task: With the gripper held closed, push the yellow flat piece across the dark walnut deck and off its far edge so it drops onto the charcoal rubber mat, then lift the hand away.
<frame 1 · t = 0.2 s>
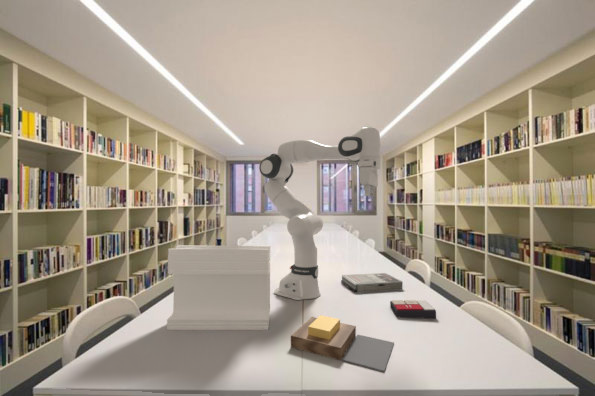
hand: (369, 196, 123), 48 cm above the table, tool pointing down, fingers open, 8 cm apart
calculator: (412, 314, 115), on the table
block: (220, 325, 102), on the table
hard drive: (370, 286, 152), on the table
yellow flat piece: (324, 330, 91), point 3 cm above the table, touching deck
deck: (324, 341, 91), on the table
mat: (369, 351, 85), on the table
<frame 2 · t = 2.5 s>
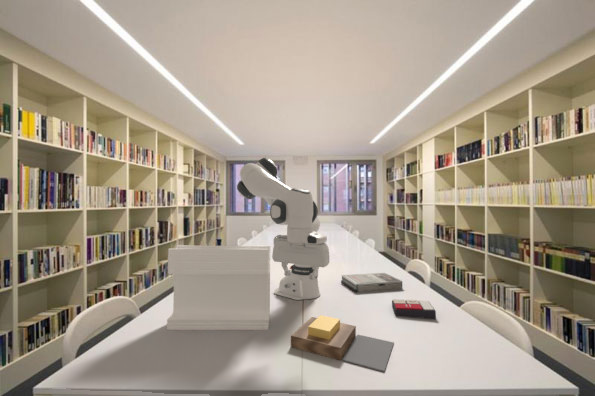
hand: (299, 277, 95), 19 cm above the table, tool pointing down, fingers open, 8 cm apart
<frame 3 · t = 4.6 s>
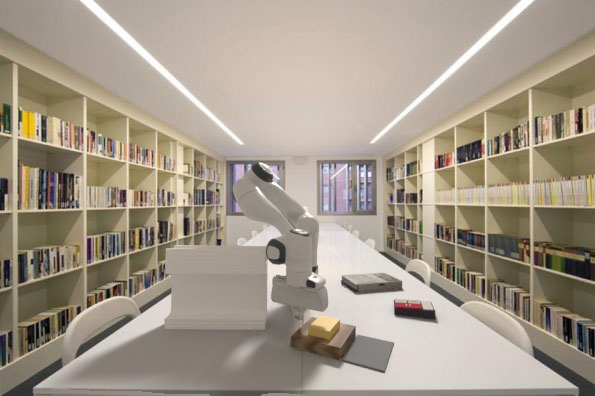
hand: (298, 319, 95), 5 cm above the table, tool pointing down, fingers closed
block: (217, 324, 102), on the table
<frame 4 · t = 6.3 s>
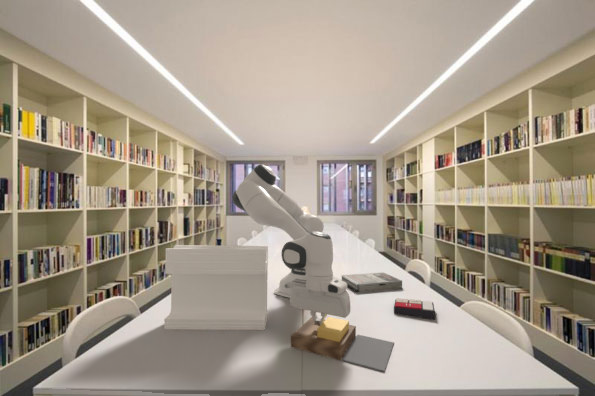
hand: (318, 325, 91), 5 cm above the table, tool pointing down, fingers closed
yellow flat piece: (333, 332, 89), point 4 cm above the table, touching deck, gripper
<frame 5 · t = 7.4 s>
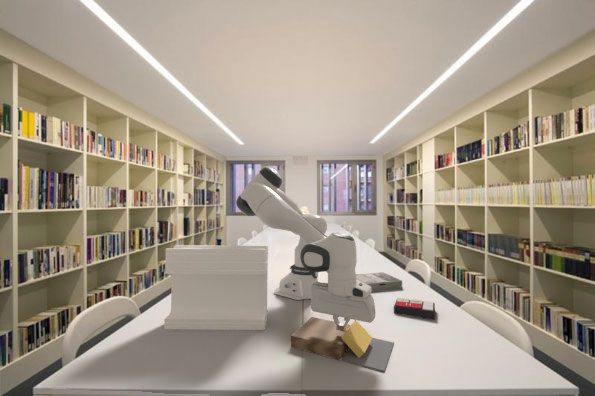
hand: (341, 330, 88), 5 cm above the table, tool pointing down, fingers closed
yellow flat piece: (354, 340, 86), point 3 cm above the table, tilted 40°, touching gripper
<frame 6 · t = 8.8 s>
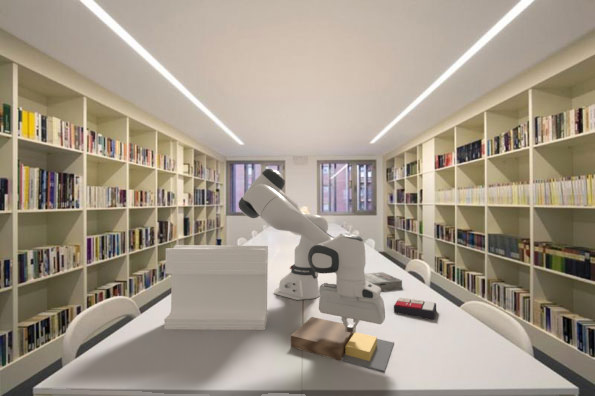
hand: (350, 331, 87), 5 cm above the table, tool pointing down, fingers closed
yellow flat piece: (361, 349, 85), resting on mat
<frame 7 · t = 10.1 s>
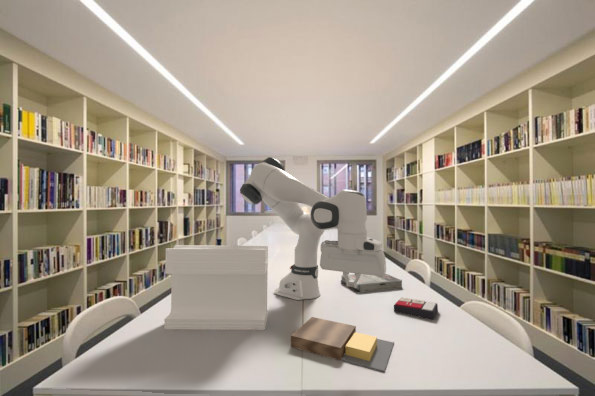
hand: (351, 286, 87), 19 cm above the table, tool pointing down, fingers closed
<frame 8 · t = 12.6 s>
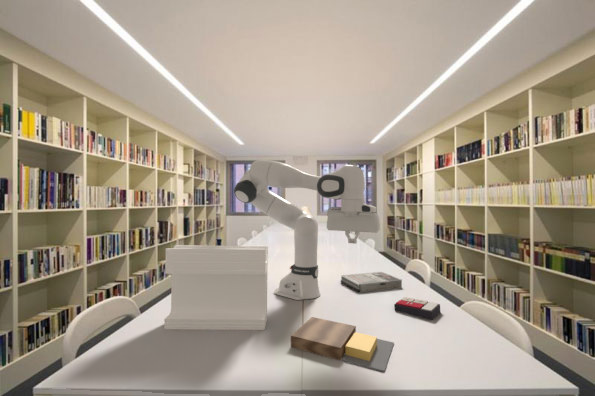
hand: (352, 243, 108), 29 cm above the table, tool pointing down, fingers closed
at the end: yellow flat piece inside the target area on the mat (2.3 cm from its centre), point 0.4 cm above the mat's base; yellow flat piece resting on mat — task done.
